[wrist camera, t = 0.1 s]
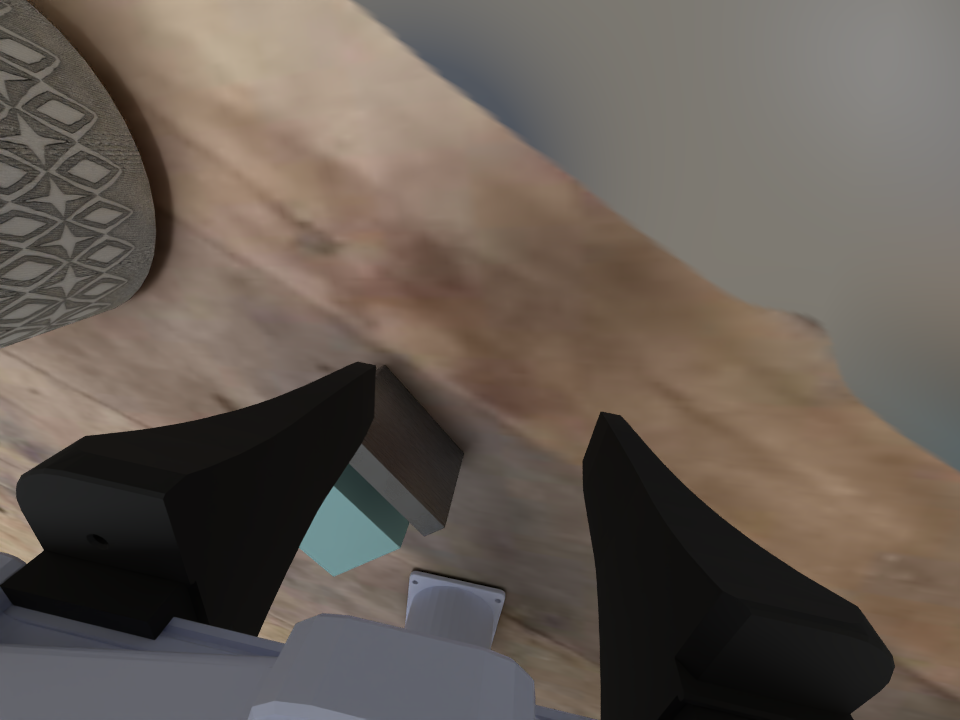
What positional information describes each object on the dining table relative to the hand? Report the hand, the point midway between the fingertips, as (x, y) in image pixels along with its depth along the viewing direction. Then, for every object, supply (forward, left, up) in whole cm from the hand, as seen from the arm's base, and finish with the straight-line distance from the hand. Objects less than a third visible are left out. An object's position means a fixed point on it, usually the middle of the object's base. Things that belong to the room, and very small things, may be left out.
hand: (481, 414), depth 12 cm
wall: (-8, +4, -10) cm, 14 cm away
